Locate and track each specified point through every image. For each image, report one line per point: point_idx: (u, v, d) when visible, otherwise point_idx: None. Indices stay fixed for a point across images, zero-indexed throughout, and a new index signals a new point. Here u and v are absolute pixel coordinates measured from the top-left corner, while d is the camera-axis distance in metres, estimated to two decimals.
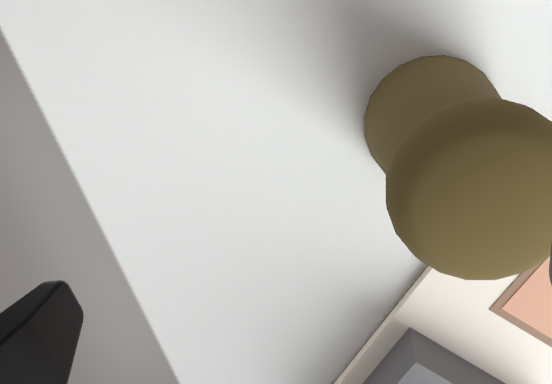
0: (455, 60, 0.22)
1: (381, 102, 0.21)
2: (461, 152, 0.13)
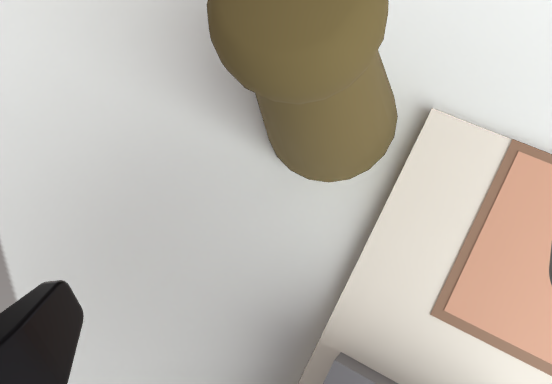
0: None
1: None
2: None
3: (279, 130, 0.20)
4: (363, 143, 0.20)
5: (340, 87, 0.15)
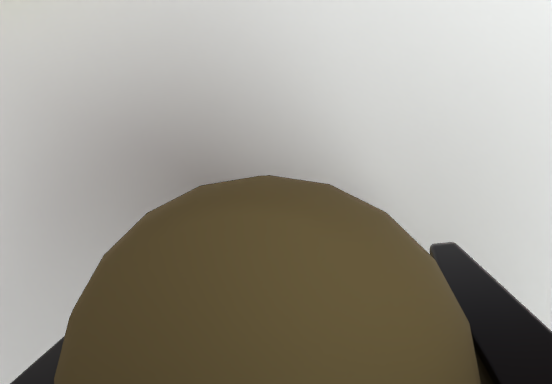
0: None
1: None
2: (147, 257, 0.06)
3: None
4: None
5: None
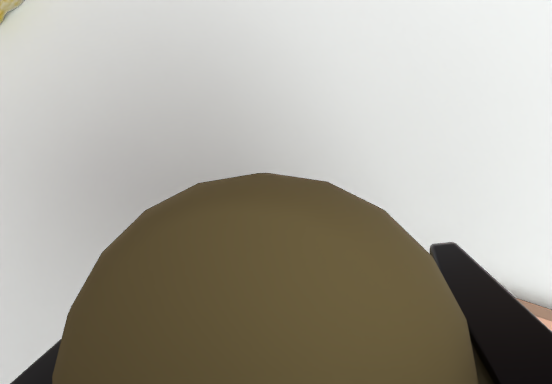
0: None
1: None
2: (145, 253, 0.06)
3: None
4: None
5: None
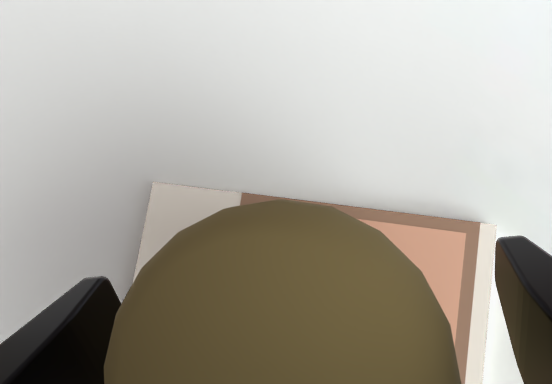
0: None
1: None
2: (182, 270, 0.07)
3: None
4: None
5: None
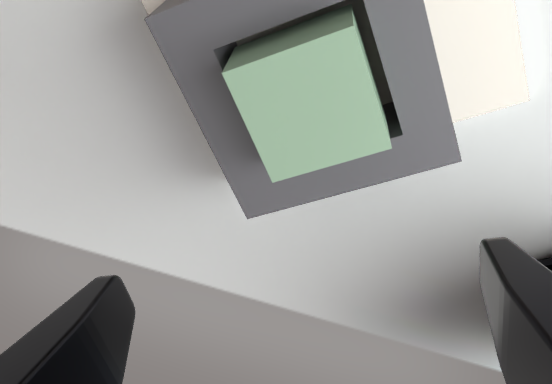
0: None
1: None
2: None
3: None
4: None
5: None
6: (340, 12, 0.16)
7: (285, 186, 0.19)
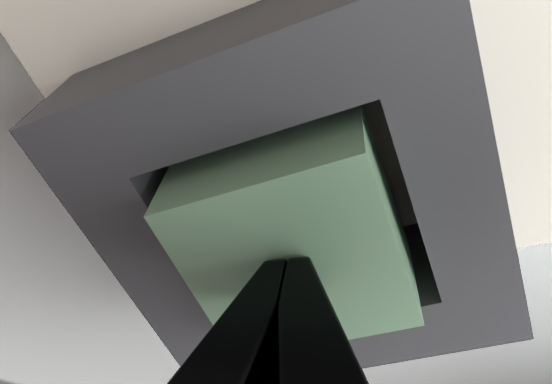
0: None
1: None
2: None
3: None
4: None
5: None
6: None
7: None
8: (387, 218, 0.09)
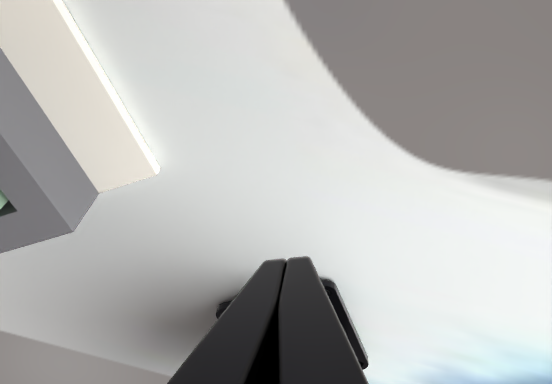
0: None
1: None
2: None
3: None
4: None
5: None
6: None
7: None
8: None
